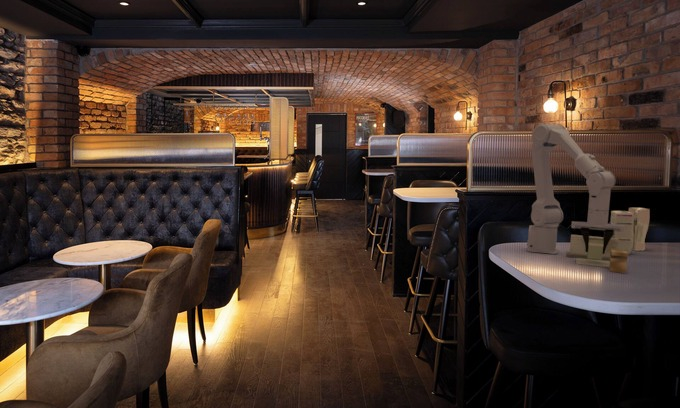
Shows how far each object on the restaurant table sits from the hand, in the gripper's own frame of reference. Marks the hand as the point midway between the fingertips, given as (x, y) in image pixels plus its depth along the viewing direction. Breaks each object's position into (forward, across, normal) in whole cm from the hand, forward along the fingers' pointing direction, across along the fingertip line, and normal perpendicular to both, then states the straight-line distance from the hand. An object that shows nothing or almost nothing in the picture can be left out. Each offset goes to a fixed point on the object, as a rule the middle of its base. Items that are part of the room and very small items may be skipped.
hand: (594, 252), depth 159 cm
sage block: (+2, 0, 0) cm, 2 cm away
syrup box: (+4, +9, +24) cm, 26 cm away
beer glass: (+4, +15, +33) cm, 36 cm away
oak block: (+4, +6, -7) cm, 10 cm away
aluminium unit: (+4, 0, +9) cm, 10 cm away
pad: (+4, 0, 0) cm, 4 cm away
